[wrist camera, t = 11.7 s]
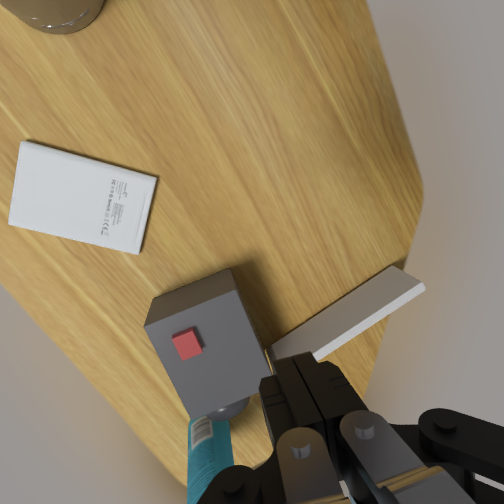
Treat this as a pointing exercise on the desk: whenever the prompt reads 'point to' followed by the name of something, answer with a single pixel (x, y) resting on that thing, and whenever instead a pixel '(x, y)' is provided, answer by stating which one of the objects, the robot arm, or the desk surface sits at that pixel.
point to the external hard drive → (80, 198)
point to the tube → (206, 454)
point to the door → (349, 315)
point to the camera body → (208, 346)
